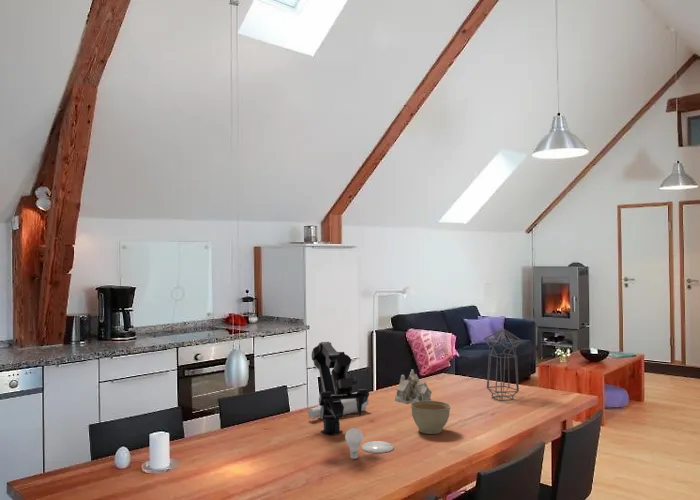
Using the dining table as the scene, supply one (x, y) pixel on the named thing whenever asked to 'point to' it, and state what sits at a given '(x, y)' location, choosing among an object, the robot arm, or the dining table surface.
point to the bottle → (348, 408)
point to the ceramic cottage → (412, 390)
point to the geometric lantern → (504, 361)
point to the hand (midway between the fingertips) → (348, 417)
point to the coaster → (377, 447)
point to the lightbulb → (354, 441)
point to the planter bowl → (430, 415)
